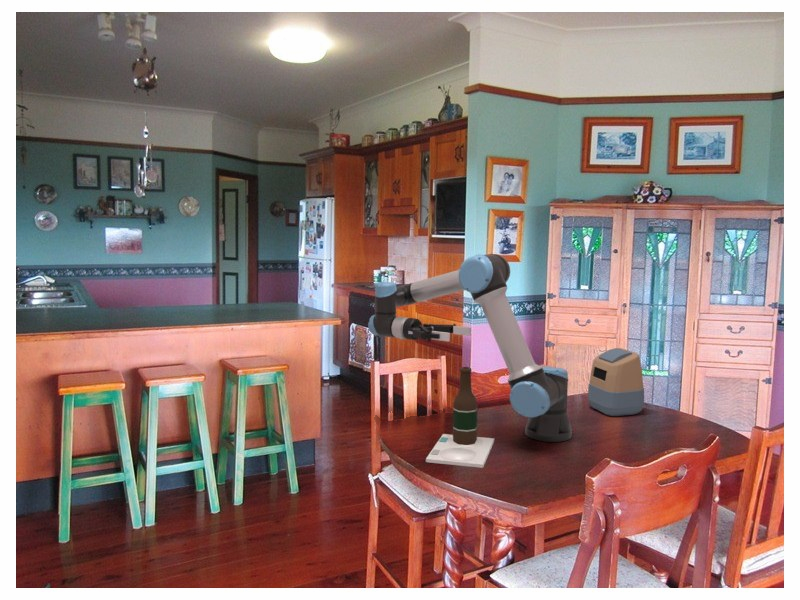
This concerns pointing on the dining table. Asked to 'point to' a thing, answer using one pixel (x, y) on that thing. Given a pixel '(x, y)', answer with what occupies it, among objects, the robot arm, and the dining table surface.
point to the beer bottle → (465, 411)
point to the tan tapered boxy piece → (616, 383)
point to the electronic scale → (460, 452)
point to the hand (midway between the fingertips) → (460, 334)
